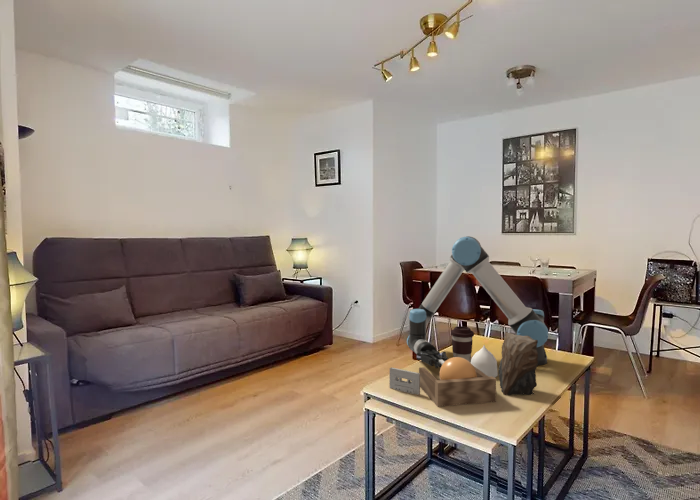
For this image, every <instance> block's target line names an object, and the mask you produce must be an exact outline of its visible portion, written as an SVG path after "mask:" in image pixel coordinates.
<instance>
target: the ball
mask: <svg viewBox="0 0 700 500" xmlns="http://www.w3.org/2000/svg"><path fill="white" fill-rule="evenodd" d="M463 378H477V374H476V370H475V368H474V366H473V365H472V364H471V361H470V362H469V361H468V360H466V359H464V358H461V357H450V358H448V360H446V361H445V362H444V363H443V364H442V366H441V368H439V380H448V379H463Z"/></svg>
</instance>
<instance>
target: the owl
mask: <svg viewBox="0 0 700 500" xmlns="http://www.w3.org/2000/svg"><path fill="white" fill-rule="evenodd" d="M504 336H505V337H504V340H503V343H502V345H501V359H500V362H499V366H498V368H497V372H498V378H499V387H500V389H501V393H502V394H503V396H522V395H523V396H524V395H528V396H529V395H531V394H532V395H535V392H534V389H535V388H536V387H537V374H536V371H537V367H538V366H539V365H538V352H537V343H538V340H534V339H532V338H531V337H530V336H521V335H515V334H514V333H513V332H509V331H508V332H507V331H506V332H505V333H504ZM533 392H534V393H533Z"/></svg>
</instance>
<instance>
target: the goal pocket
mask: <svg viewBox="0 0 700 500" xmlns="http://www.w3.org/2000/svg"><path fill="white" fill-rule="evenodd" d="M474 368H475V370H476V374H477V378H463V379H448V380H440V379H437V378H436V377H435V376H434V375H433V374H432V373H431V372H429V370H428V369H427V368H426V367H424V366H423V367H419V368H418V373H420V390H422V391H423V392H424V393H425V394H426V396H427V397H428V398H429V399H430V400H431V401H432V402H433V403H434V405H435V406H437V408H438V407H449V406H450V407H451V406H462V405H474V404H475V405H476V404H485V403H496V401H497V379H496V378H497V377H495V378H494V377H493V376H491V377H489V376H487V375H486V374H484V373H483V372H482V371H480V370H479V369H477V368H476V367H474Z"/></svg>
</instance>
